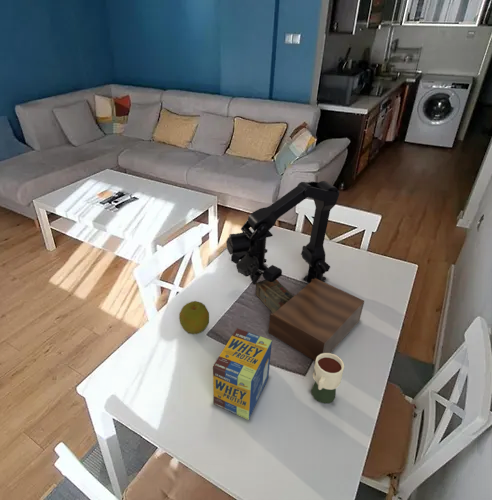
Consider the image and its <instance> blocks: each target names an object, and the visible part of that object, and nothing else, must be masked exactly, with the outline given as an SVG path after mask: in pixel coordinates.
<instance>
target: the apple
mask: <svg viewBox="0 0 492 500" xmlns="http://www.w3.org/2000/svg"><path fill="white" fill-rule="evenodd" d="M178 316H179V317H178V319H179V324H180V326H181V327H182V329H183V330H184V331H185V332H186V333H188V334H191V335H198V334H202V332H204V331H205V330H206V328H208V326H209V324H210V311H209V310H208V308H207V306H206V304H203V302H201V301H197V300H194V301H190V302H188V303H186V304H185V305H183V306H182V308H181V310H180V312H179V315H178Z"/></svg>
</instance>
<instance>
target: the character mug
mask: <svg viewBox="0 0 492 500" xmlns="http://www.w3.org/2000/svg"><path fill="white" fill-rule="evenodd" d="M344 370H345V364H344V361H343V360H342V359H341V357H339V356H338V355H337V354H334V353H332V352H331V353H323V354H320V355H318V356H317V358H316V361H314V367H313V372H312V378H313V381H314V383H313V385H312V387H311V391H310V392H311V396H312V398H313V399H314V400H315V401H317V402H319V403H322V404H331V403H333V402H334V401H335V400H336V395H337V389H338V388H339V386H340V385H341V383H342V379H343V375H344Z"/></svg>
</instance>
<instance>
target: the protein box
mask: <svg viewBox="0 0 492 500" xmlns="http://www.w3.org/2000/svg"><path fill="white" fill-rule="evenodd" d="M272 345H273V340H272V339H269V338H267V337H264V336H261V335H258V334H255V333H253V332H250V331H247V330H244V329H241V328H239V327H236V329H235V330H234V332H233V334H232V335H231V336H230V338H229V339H228V341H227V343H226V345H225V346H224V348H223V349H222V351H221V352H220V354H219V356H218V357H217V358H216V361H214V364H213V365H212V394H213V405H214V406H217V407H219V408H220V409H223V410H226V411H228V412H230V413H231V414H234V415H235V416H238V417H241V418H243V419H245V420H250V418H251V415H252V413H253V412H254V409H255V407H256V405H257V403H258V401H259V398H260V397H261V395H262V394H263V393H262V392H263V391H264V388H265V386H266V384H267V382H268V380H269V375H270V364H271V354H272Z"/></svg>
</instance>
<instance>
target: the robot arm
mask: <svg viewBox="0 0 492 500" xmlns="http://www.w3.org/2000/svg"><path fill="white" fill-rule="evenodd" d="M339 197H340V190H339V189H338V188H337V187H336V186H334V185H333V184H331V183H329V182H328V181H326V180H320V181H314V180H313V181H301V182H300V181H299V183H298V184H297V185H296V186H295V187H294V188H292V189H291V190H289V192H287V193H285V194H284V195H283V196H281V197H280V198H279V199H277V200H276V201H274V202H273V203H272V204H270V205H268V206H266V207H260V208H259V209H256V210H255V211H253V212H251V213H250V214H249V215H248V218H247V220H246V221H245V222H244V223H243V225H242V226H241V228H240V230H241V232H237V233H230V234H228V237H227V239H226V241H225V242H226V249H227V252H228V254H229V255H231V256H230V262H231V263H233V264H235V267H236V270H237V272H238V273H239V274H240V275H243V276H244V277H250V280H251V283H252V285H256V283H257V282H259V280H260V278H261V276H262V277H263V280H265V279H266V280H268V281H269V282H273V281H275V280H276V279H277V280H278V279H279V278H280V277H282V274H283V269H282V268H280V267H278V266H276V265H274V264H272V265H270V266H268V264H266V263H267V261H268V260H267V259H266V254H267V253H268V249H267V247H266V246H267V238H272V237H273V235H274V234H273V233H272V232H271V231H270V230H271V229H272V228H273V227H275V224H276V222H277V221H278V219H279V218H281V217H282V216H283V215H285V214H286V213H288V212H289V211H291V210H293V208H295V207H297V206H298V205H299V204H300V203H301V202H303V201H305V200H306V199H307V198H309V199H313V202H314V206H315V210H314V215H313V221H312V226H311V231H310V236H309V242H308V243H307V244H305V245H303V246H302V248H301V249H302V250H301V253H300V255H301V257H302V259H303V260H304V261H305V263H307V265H308V270H307V275H305V276H304V277H303V279H302V280H303V281H304V282H307V283H308V284H309V283H310V282H311V280H312V279H315V278H316V279H318V280H320V281H323V282H325V281H326V280H327V277H325V276H324V274H326V273H327V272H329V271H330V269H331V266H330V264H328V262H326V251H325V247H324V243H325V239H326V238H325V237H326V233H327V229H328V224H329V218H330V213H331V210H332V209H333V208H334V207H335V206H336V205H337V202H338V199H339ZM250 228H251V229H252V230H253V231H252V230H251V229H250Z"/></svg>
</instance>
